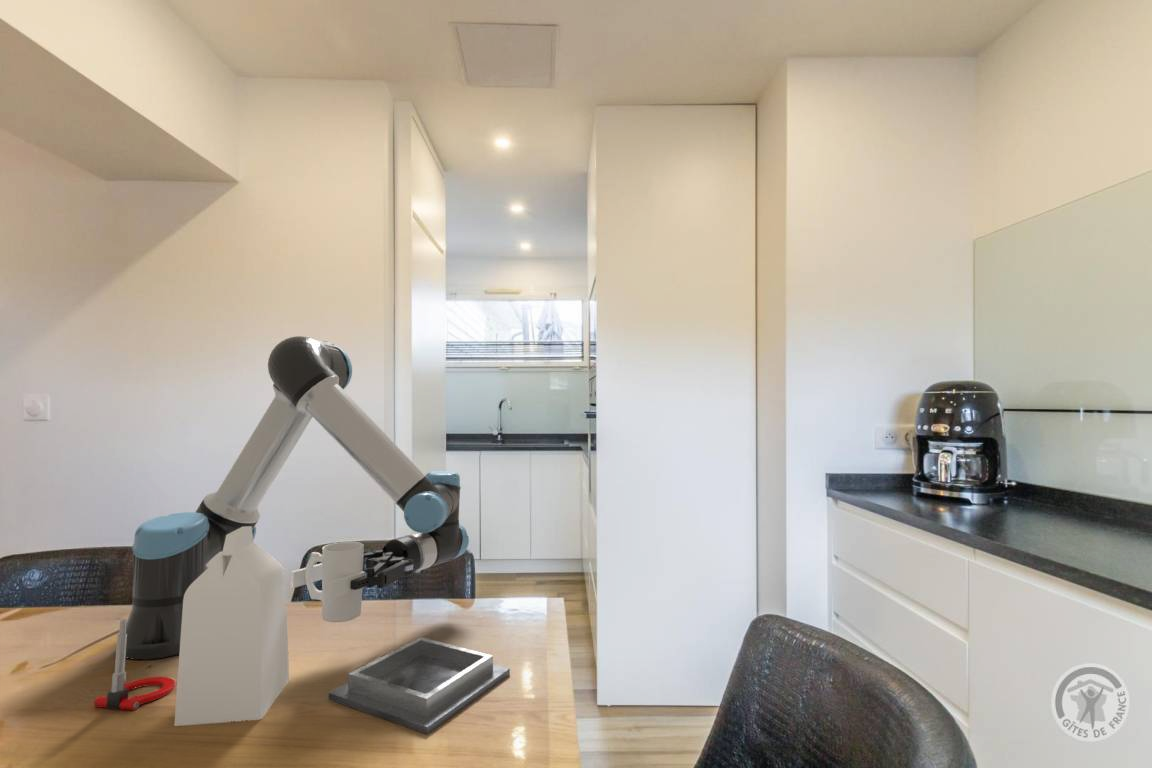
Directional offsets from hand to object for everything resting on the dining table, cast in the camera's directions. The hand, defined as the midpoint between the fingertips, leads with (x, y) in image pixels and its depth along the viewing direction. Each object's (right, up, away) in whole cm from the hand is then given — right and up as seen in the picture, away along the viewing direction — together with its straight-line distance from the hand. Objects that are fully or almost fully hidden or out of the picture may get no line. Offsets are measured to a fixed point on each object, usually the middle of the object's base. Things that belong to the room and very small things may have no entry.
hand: (311, 584), depth 97 cm
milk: (-8, -15, -8) cm, 19 cm away
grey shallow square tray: (+20, -15, -4) cm, 25 cm away
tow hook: (-24, -15, -7) cm, 29 cm away
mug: (+2, -7, +4) cm, 8 cm away
